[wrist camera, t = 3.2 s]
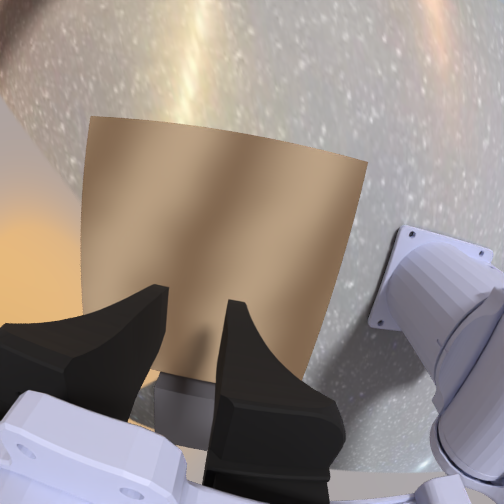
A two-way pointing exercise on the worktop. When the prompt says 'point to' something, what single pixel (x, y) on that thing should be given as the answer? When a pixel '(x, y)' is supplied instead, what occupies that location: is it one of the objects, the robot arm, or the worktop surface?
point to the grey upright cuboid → (184, 410)
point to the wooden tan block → (215, 233)
